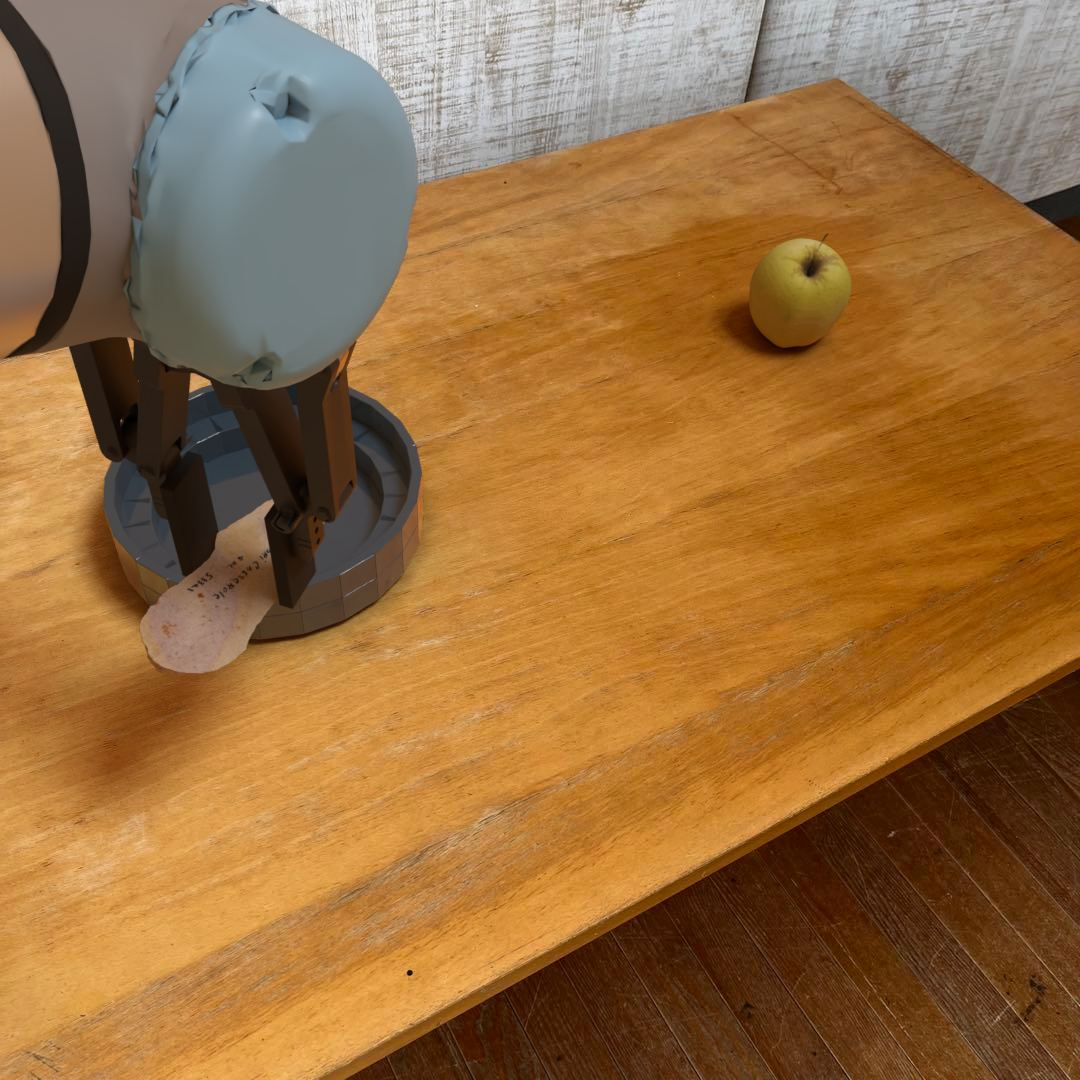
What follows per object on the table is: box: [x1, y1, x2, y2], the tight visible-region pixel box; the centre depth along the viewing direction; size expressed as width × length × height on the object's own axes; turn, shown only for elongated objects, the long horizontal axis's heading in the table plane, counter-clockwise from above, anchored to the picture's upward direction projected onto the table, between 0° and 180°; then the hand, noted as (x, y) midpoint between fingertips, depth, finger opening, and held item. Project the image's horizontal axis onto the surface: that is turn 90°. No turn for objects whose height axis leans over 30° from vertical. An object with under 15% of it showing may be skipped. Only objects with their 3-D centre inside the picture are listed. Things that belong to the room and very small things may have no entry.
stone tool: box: [139, 499, 324, 677], centre depth 61 cm, size 5×2×15 cm
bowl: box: [102, 383, 424, 640], centre depth 79 cm, size 20×20×5 cm
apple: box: [748, 232, 853, 349], centre depth 95 cm, size 8×8×10 cm
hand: (249, 573), depth 61 cm, fingers closed on stone tool, 5 cm apart
